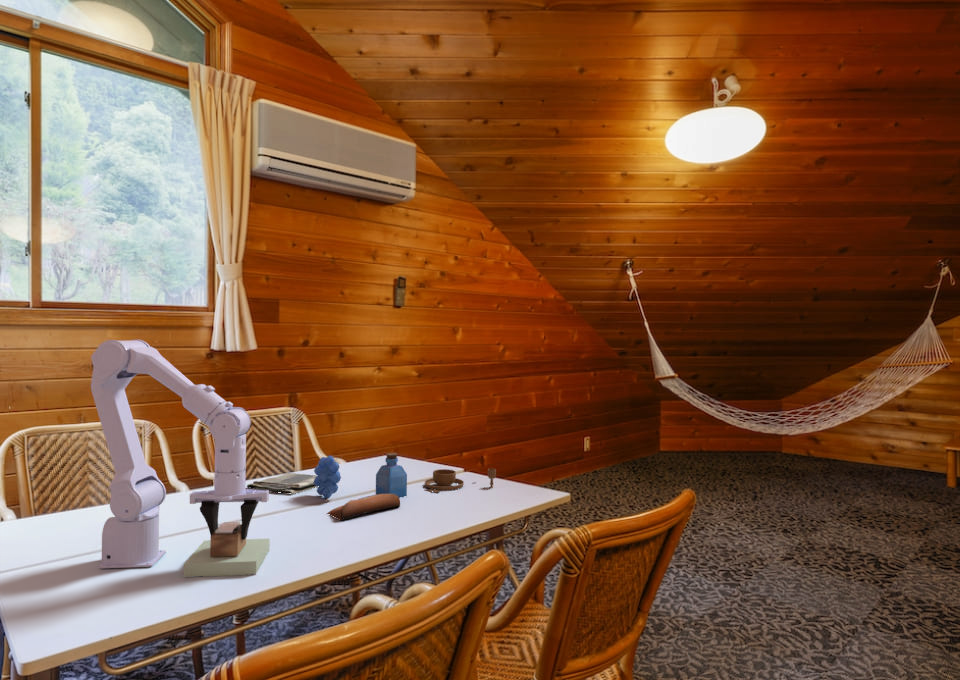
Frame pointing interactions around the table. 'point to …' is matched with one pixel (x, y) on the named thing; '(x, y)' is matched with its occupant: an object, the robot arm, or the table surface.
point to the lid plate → (228, 528)
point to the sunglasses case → (365, 506)
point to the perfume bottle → (391, 477)
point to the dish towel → (286, 483)
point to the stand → (227, 560)
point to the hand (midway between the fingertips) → (229, 538)
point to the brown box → (226, 544)
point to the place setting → (450, 480)
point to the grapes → (327, 476)
